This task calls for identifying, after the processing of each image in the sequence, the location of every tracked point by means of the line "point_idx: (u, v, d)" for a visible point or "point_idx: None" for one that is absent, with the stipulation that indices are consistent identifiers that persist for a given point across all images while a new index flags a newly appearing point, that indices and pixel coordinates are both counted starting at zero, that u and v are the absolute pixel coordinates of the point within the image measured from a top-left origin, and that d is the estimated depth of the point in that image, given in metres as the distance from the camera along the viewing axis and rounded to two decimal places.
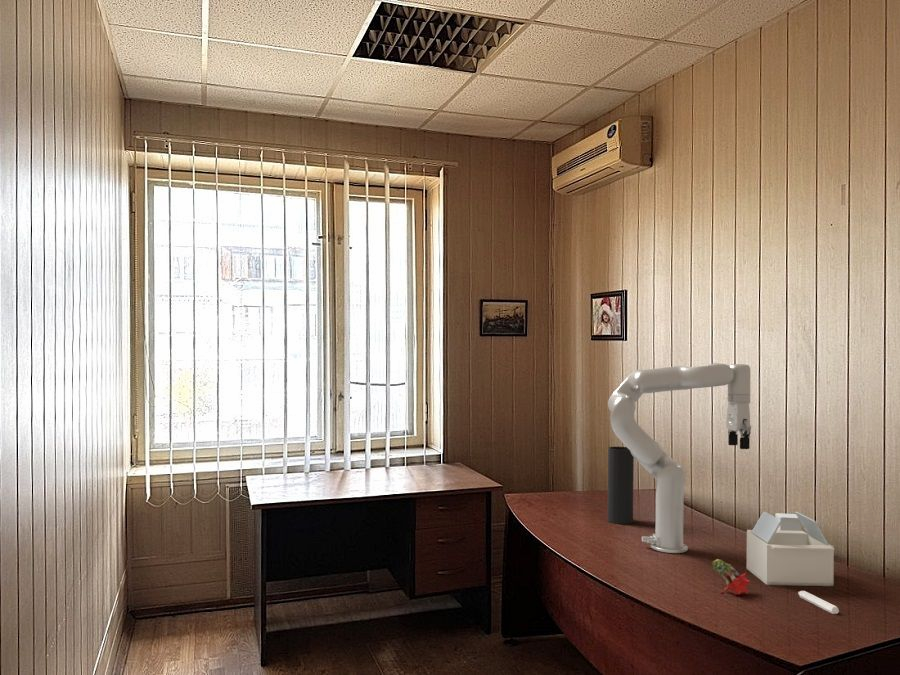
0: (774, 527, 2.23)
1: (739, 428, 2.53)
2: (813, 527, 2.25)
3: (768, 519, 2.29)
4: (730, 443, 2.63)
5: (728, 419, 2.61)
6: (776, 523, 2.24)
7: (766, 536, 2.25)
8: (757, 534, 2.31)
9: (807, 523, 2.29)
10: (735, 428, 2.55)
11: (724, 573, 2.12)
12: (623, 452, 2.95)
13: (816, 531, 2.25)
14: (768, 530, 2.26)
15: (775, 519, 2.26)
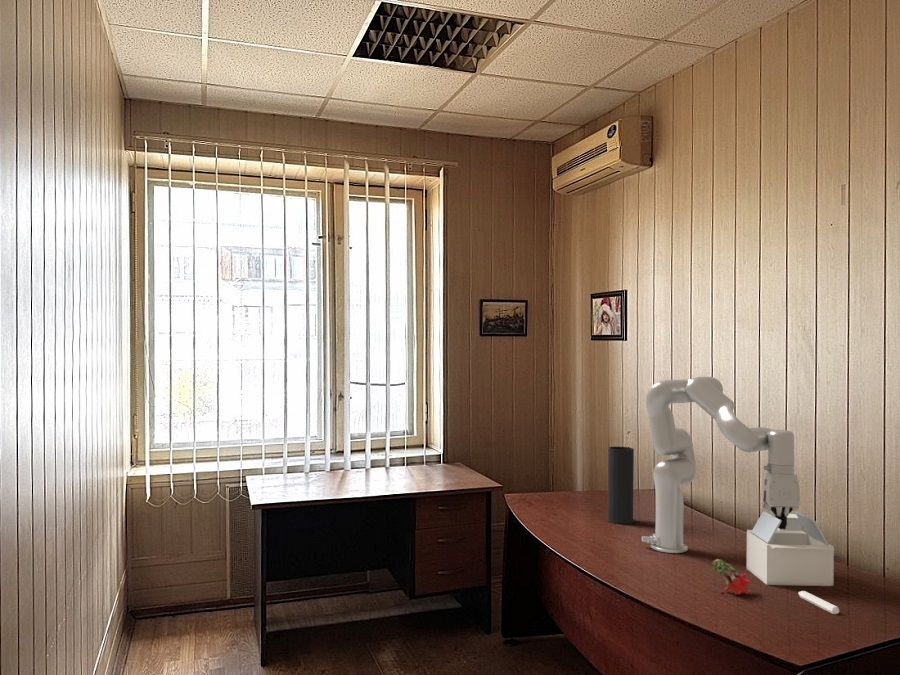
0: (774, 527, 2.23)
1: None
2: (813, 527, 2.25)
3: (768, 519, 2.29)
4: None
5: (777, 495, 2.26)
6: (776, 523, 2.24)
7: (766, 536, 2.25)
8: (757, 534, 2.31)
9: (807, 523, 2.29)
10: (796, 503, 2.26)
11: (724, 573, 2.12)
12: (623, 452, 2.95)
13: (816, 531, 2.25)
14: (768, 530, 2.26)
15: (775, 519, 2.26)
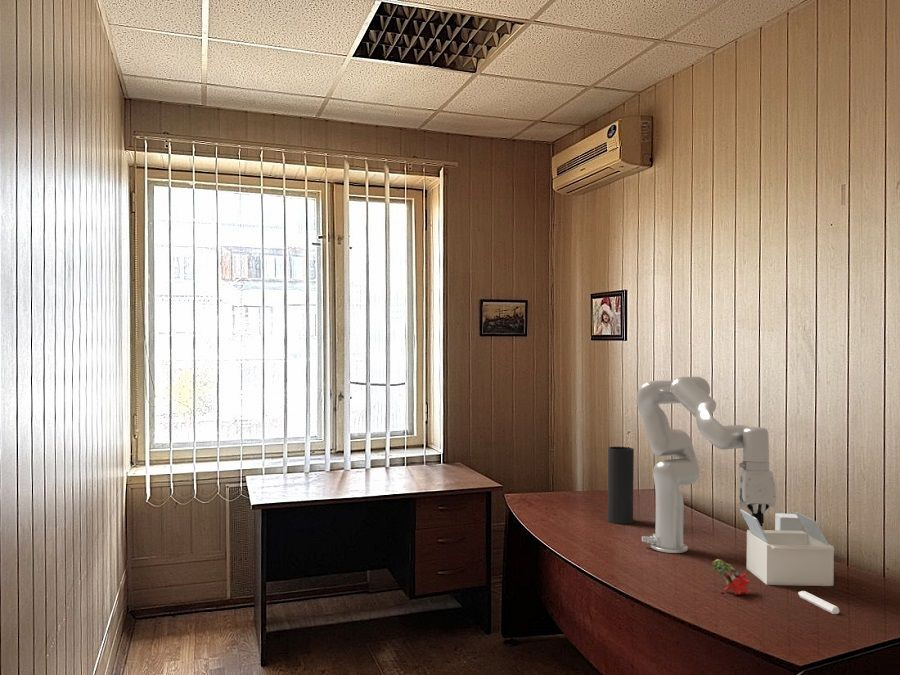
0: (758, 526, 2.23)
1: None
2: (813, 527, 2.25)
3: (749, 518, 2.30)
4: None
5: (753, 492, 2.26)
6: (756, 522, 2.24)
7: (761, 535, 2.25)
8: (756, 534, 2.31)
9: (807, 523, 2.29)
10: (772, 500, 2.26)
11: (724, 573, 2.12)
12: (623, 452, 2.95)
13: (816, 531, 2.25)
14: (758, 530, 2.26)
15: (752, 518, 2.26)
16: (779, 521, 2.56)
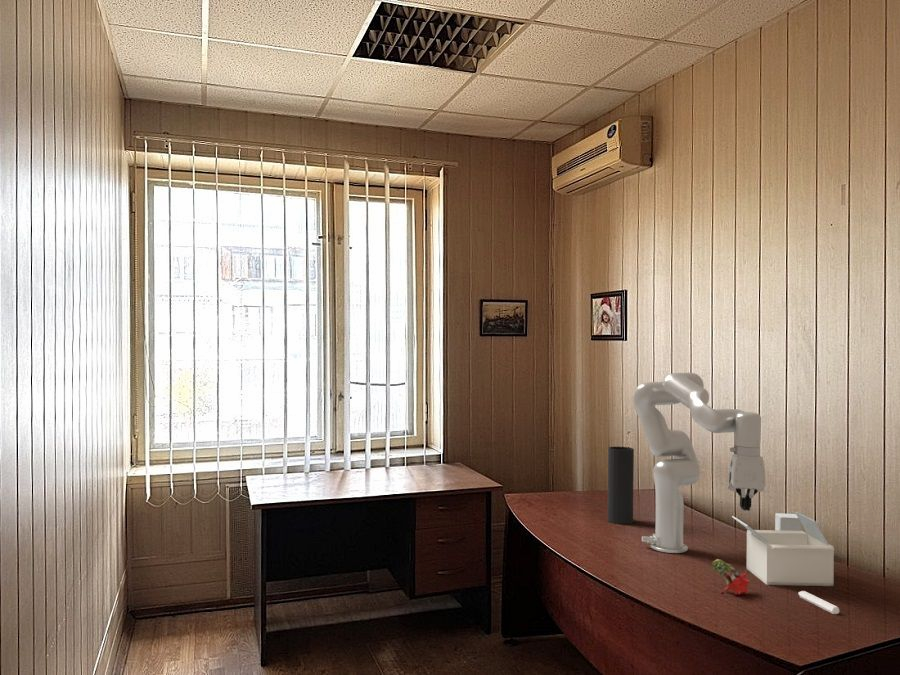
0: (752, 531, 2.23)
1: None
2: (813, 527, 2.25)
3: (742, 524, 2.30)
4: None
5: (742, 477, 2.27)
6: (748, 528, 2.24)
7: (760, 537, 2.25)
8: (755, 534, 2.31)
9: (807, 523, 2.29)
10: (761, 485, 2.27)
11: (724, 573, 2.12)
12: (623, 452, 2.95)
13: (816, 531, 2.25)
14: (754, 533, 2.26)
15: (743, 525, 2.26)
16: (779, 521, 2.56)
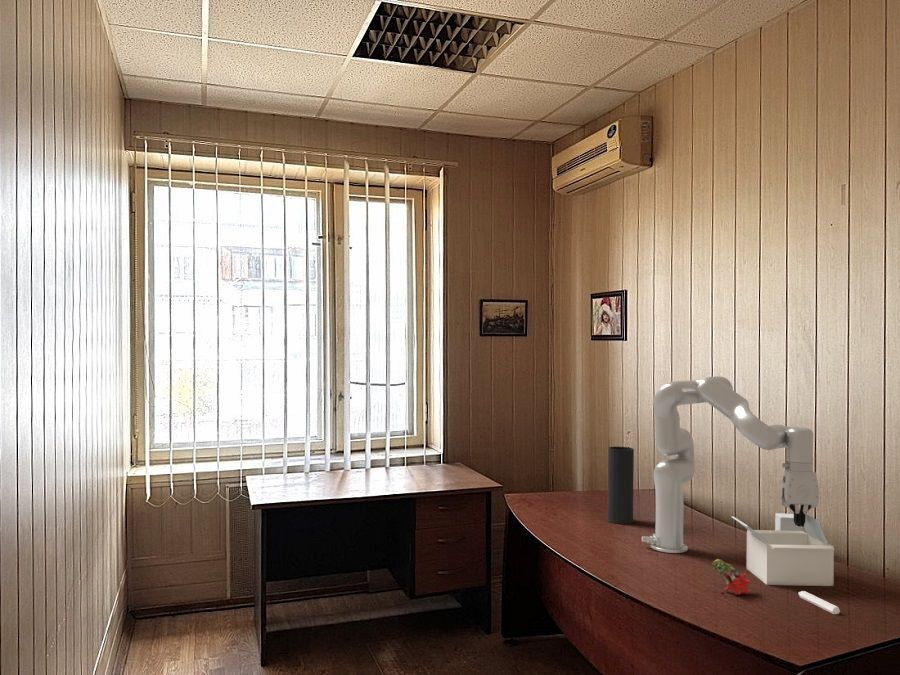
0: (752, 531, 2.23)
1: None
2: (814, 526, 2.25)
3: (742, 524, 2.30)
4: None
5: (796, 492, 2.26)
6: (748, 528, 2.24)
7: (760, 537, 2.25)
8: (755, 534, 2.31)
9: (808, 522, 2.29)
10: (815, 501, 2.26)
11: (724, 573, 2.12)
12: (623, 452, 2.95)
13: (817, 530, 2.25)
14: (754, 533, 2.26)
15: (743, 525, 2.26)
16: (779, 521, 2.56)
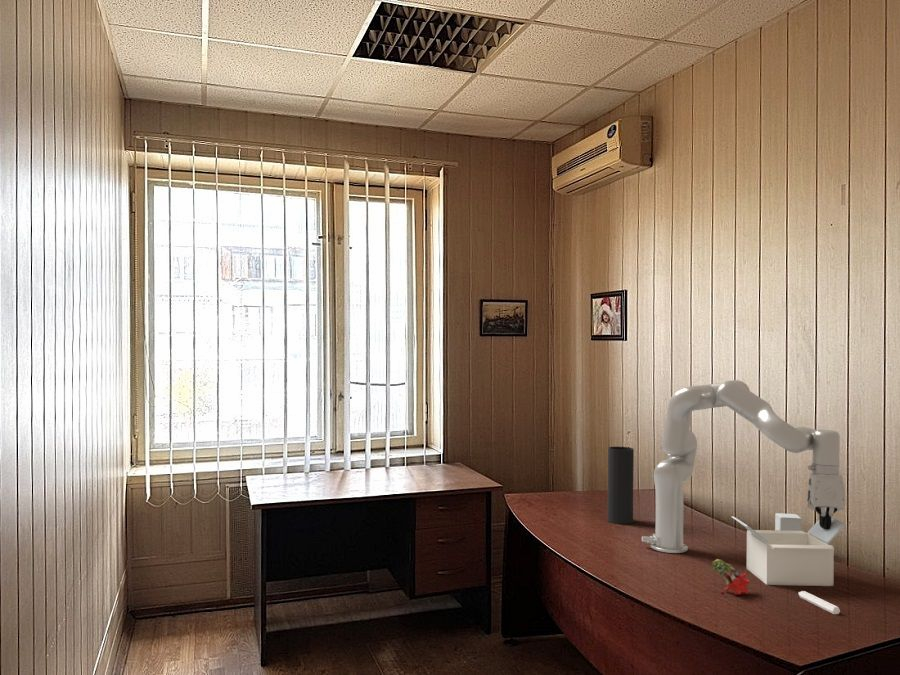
0: (752, 531, 2.23)
1: None
2: (832, 528, 2.25)
3: (742, 524, 2.30)
4: None
5: (822, 495, 2.25)
6: (748, 528, 2.24)
7: (760, 537, 2.25)
8: (755, 534, 2.31)
9: None
10: (841, 504, 2.25)
11: (724, 573, 2.12)
12: (623, 452, 2.95)
13: (831, 531, 2.25)
14: (754, 533, 2.26)
15: (743, 525, 2.26)
16: (779, 521, 2.56)
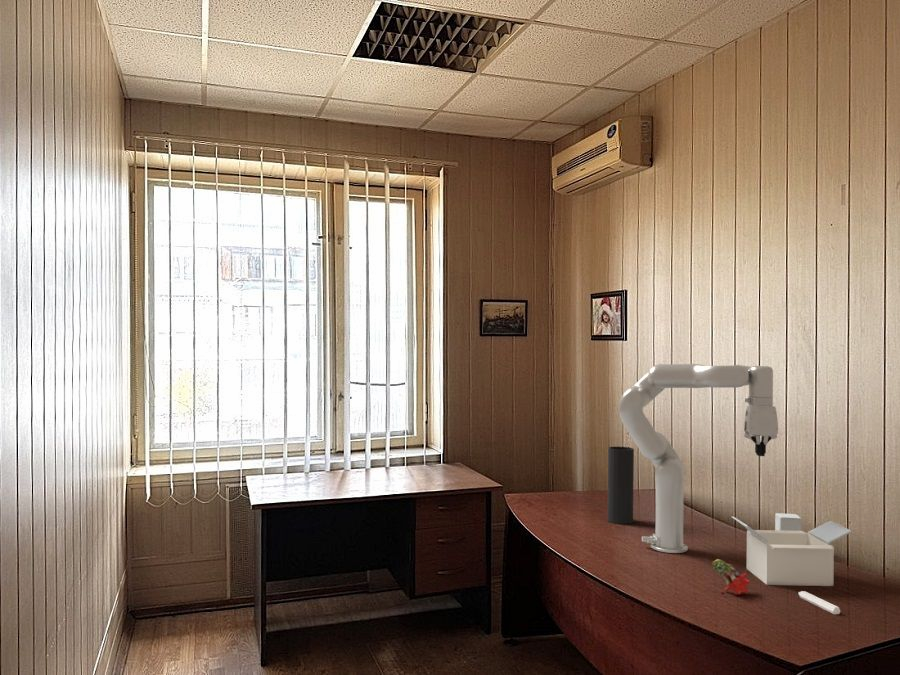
0: (752, 531, 2.23)
1: None
2: (836, 532, 2.25)
3: (742, 524, 2.30)
4: None
5: (757, 424, 2.46)
6: (748, 528, 2.24)
7: (760, 537, 2.25)
8: (755, 534, 2.31)
9: (832, 528, 2.29)
10: (774, 432, 2.46)
11: (724, 573, 2.12)
12: (623, 452, 2.95)
13: (834, 534, 2.25)
14: (754, 533, 2.26)
15: (743, 525, 2.26)
16: (779, 521, 2.56)
